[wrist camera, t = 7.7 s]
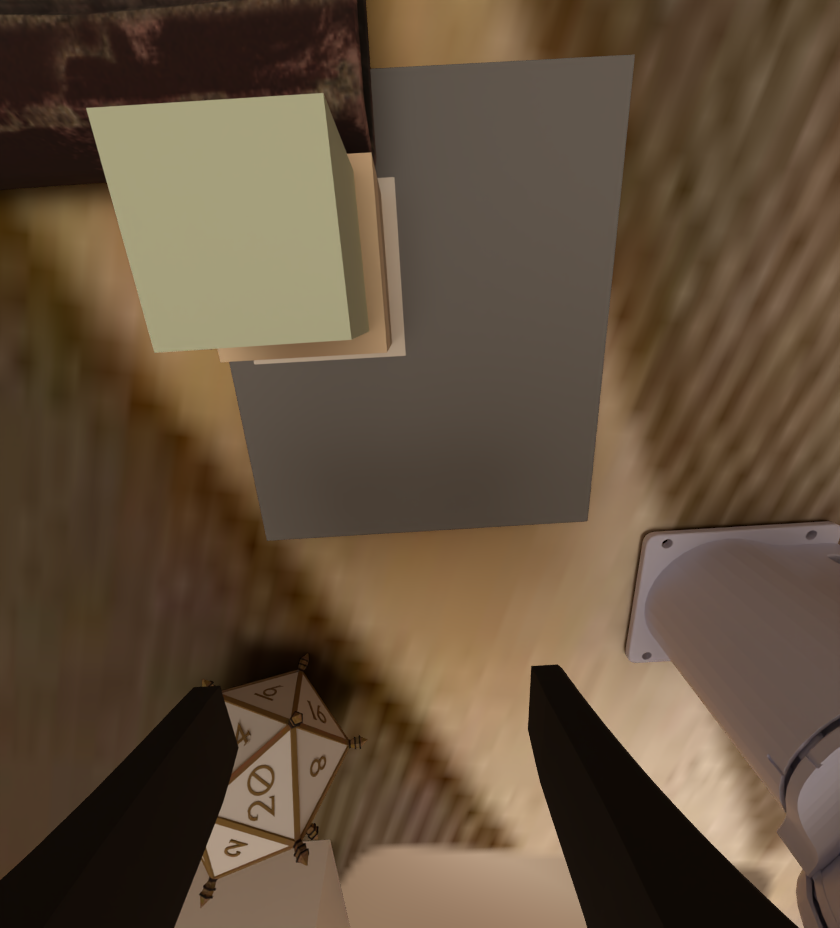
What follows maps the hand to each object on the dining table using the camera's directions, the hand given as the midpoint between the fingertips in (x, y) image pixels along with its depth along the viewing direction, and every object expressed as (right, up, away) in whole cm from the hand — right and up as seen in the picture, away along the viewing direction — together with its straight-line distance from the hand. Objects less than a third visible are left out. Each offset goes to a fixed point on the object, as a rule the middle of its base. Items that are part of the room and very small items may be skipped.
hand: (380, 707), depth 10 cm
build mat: (+1, +11, +7) cm, 13 cm away
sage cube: (-3, +11, +2) cm, 12 cm away
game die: (-7, -7, +14) cm, 17 cm away
